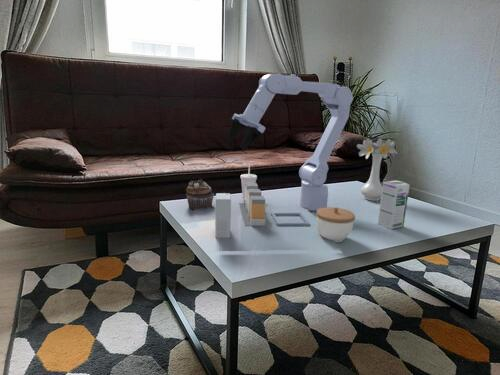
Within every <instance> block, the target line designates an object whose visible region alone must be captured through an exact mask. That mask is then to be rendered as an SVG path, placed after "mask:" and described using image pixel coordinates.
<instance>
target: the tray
mask: <svg viewBox="0 0 500 375" xmlns="http://www.w3.org/2000/svg"><path fill="white" fill-rule="evenodd" d="M277 216H299V218H301V220H302V222H280V221H279V220H278V218H277ZM271 217H272V219H273V222H274V223H275V225H276V226H277V227H283V226H285V227H286V226H287V227H291V226H292V227H296V226H297V227H302V226H303V227H304V226H305V227H306V226H307V227H308V226H309V227H310V222H309V221H308V220H307V218H306V217H305V215H304V214H303V213H302V212H271Z"/></svg>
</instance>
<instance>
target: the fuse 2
mask: <svg viewBox="0 0 500 375" xmlns="http://www.w3.org/2000/svg"><path fill="white" fill-rule="evenodd" d="M251 196H262V191H261V189H259V188H258V189H248V200H247V213H248V210H250V200H251Z"/></svg>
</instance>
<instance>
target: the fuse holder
mask: <svg viewBox="0 0 500 375" xmlns="http://www.w3.org/2000/svg"><path fill="white" fill-rule="evenodd" d="M238 205H239V209H240V212H241V216H242V220H243V224H244V227H272V225H271V223H270V221H269V219H268V216H267V214H266V213H265V214H264V219H251V223H250V210H248V213H247V203H246V206H245V198H244V199H243V202H239V203H238Z"/></svg>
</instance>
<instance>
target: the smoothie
mask: <svg viewBox="0 0 500 375" xmlns="http://www.w3.org/2000/svg"><path fill="white" fill-rule="evenodd" d="M247 172H248V173H243V174H241V175H240V179H241V192H242V193H241V194H242V199H243V200H244V198H245V185H246V183H257V182H256V181H257V179H258V175H256V174H254V173H253V174H252V173H250V172H251V163H248V170H247Z"/></svg>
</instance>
